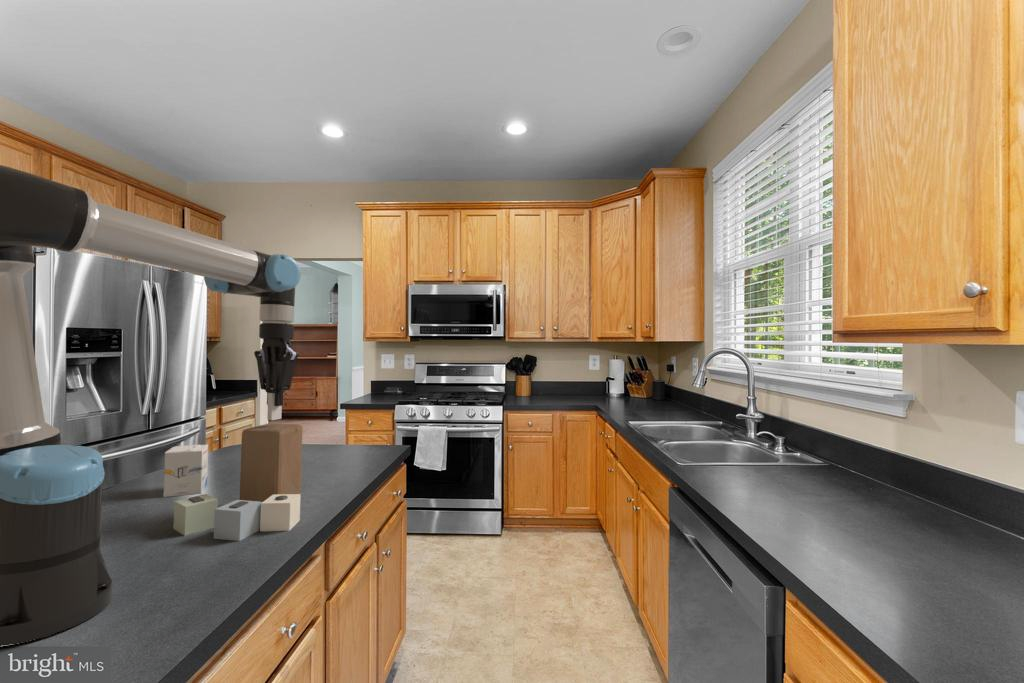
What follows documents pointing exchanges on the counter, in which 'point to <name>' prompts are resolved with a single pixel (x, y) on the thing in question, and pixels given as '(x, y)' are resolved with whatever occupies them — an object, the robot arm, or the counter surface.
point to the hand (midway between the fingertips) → (274, 419)
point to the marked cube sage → (194, 514)
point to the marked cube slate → (237, 520)
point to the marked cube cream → (280, 512)
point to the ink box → (185, 470)
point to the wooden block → (270, 461)
